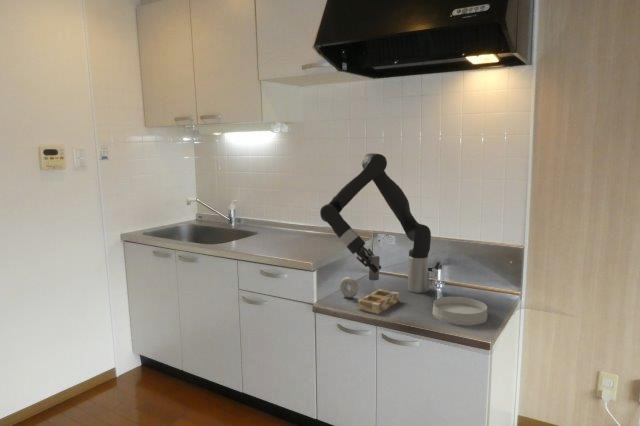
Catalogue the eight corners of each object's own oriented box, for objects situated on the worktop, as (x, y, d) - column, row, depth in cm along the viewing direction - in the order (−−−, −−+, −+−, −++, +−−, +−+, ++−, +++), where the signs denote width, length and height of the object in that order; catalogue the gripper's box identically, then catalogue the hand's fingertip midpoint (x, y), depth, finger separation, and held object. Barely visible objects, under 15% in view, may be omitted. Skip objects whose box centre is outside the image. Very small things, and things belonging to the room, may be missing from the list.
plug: (375, 277, 207) (376, 255, 206) (380, 279, 203) (381, 257, 202) (367, 278, 205) (367, 255, 204) (371, 280, 201) (372, 258, 200)
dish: (446, 303, 212) (446, 293, 211) (495, 314, 198) (495, 303, 197) (423, 317, 195) (423, 306, 194) (475, 330, 181) (475, 318, 181)
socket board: (379, 297, 221) (379, 288, 220) (398, 301, 215) (399, 292, 214) (357, 309, 205) (357, 299, 204) (378, 313, 199) (378, 304, 198)
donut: (359, 298, 219) (359, 278, 217) (355, 300, 216) (355, 279, 215) (342, 294, 225) (342, 274, 224) (338, 296, 222) (338, 276, 221)
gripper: (353, 238, 198) (380, 269, 195) (363, 232, 211) (388, 261, 208) (341, 249, 201) (367, 279, 198) (351, 243, 214) (376, 271, 211)
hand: (378, 270), depth 203 cm, fingers closed on plug, 4 cm apart
